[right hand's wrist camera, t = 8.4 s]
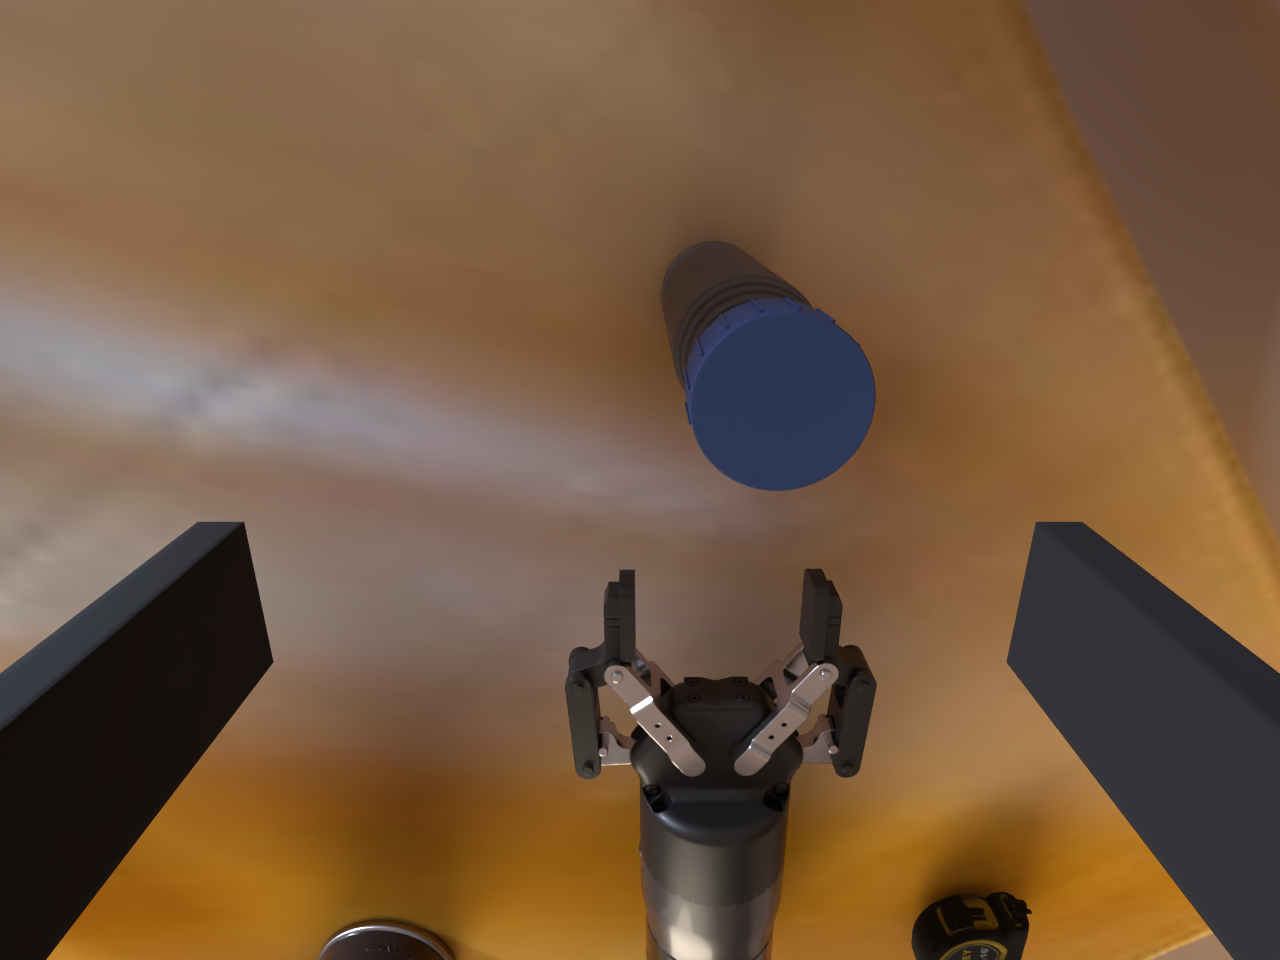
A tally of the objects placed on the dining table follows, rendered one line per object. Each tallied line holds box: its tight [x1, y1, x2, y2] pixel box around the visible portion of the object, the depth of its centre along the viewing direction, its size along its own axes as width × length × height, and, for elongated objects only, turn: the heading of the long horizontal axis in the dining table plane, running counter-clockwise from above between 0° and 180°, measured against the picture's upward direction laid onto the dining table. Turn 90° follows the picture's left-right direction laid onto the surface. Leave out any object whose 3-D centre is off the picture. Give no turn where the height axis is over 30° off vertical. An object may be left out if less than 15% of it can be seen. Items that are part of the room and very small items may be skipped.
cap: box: [684, 297, 875, 491], centre depth 20 cm, size 5×4×2 cm
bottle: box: [661, 242, 812, 391], centre depth 27 cm, size 5×5×18 cm
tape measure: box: [912, 892, 1032, 960], centre depth 49 cm, size 7×7×4 cm
